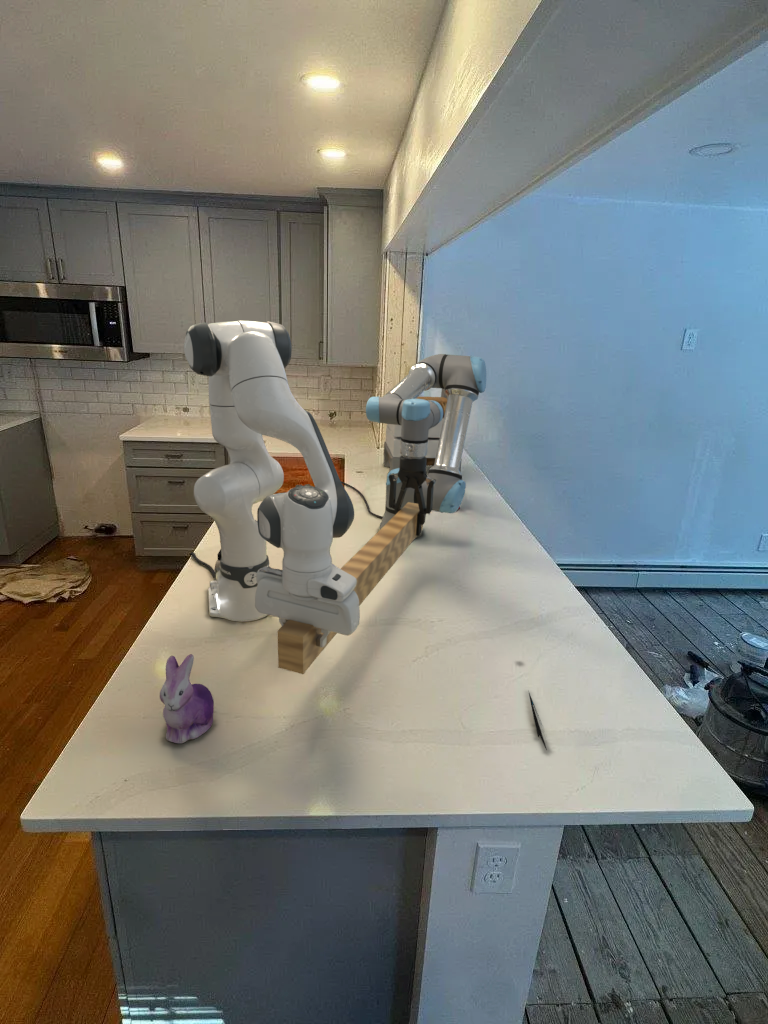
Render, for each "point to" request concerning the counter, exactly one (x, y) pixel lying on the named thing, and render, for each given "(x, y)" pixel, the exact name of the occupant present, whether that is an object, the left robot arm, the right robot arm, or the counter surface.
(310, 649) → the bar
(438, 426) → the transformer
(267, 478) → the left robot arm
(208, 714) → the figurine
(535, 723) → the feather
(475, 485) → the counter surface
